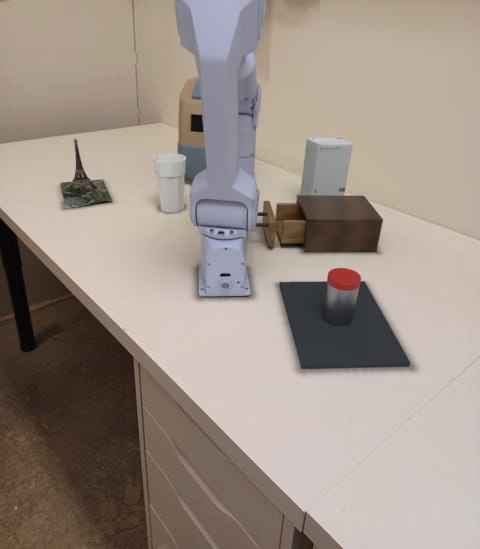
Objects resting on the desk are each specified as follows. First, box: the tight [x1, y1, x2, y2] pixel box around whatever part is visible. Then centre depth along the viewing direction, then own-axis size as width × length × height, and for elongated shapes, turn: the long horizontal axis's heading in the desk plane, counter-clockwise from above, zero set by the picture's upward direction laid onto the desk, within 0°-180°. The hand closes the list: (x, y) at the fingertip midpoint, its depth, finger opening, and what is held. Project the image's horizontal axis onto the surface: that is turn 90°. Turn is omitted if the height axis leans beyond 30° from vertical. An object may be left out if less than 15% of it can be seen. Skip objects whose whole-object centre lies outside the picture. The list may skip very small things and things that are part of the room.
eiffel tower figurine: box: [60, 138, 113, 210], centre depth 105 cm, size 15×10×13 cm
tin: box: [322, 267, 362, 326], centre depth 67 cm, size 4×4×7 cm
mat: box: [279, 280, 411, 370], centre depth 68 cm, size 20×14×1 cm
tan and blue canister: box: [177, 76, 207, 184], centre depth 115 cm, size 17×17×23 cm
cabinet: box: [295, 194, 384, 253], centre depth 91 cm, size 14×12×7 cm
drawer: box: [255, 200, 307, 247], centre depth 90 cm, size 17×10×5 cm, turn 94°
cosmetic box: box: [299, 137, 354, 196], centre depth 102 cm, size 8×6×15 cm
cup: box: [152, 152, 186, 213], centre depth 100 cm, size 7×7×11 cm
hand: (236, 224), depth 89 cm, fingers closed
